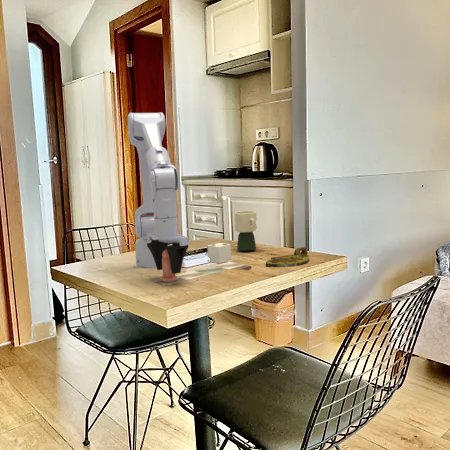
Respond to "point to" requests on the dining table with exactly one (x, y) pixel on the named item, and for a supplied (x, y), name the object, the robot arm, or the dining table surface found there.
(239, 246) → the character mug
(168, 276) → the dildo
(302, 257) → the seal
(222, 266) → the board
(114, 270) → the dining table surface
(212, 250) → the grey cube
